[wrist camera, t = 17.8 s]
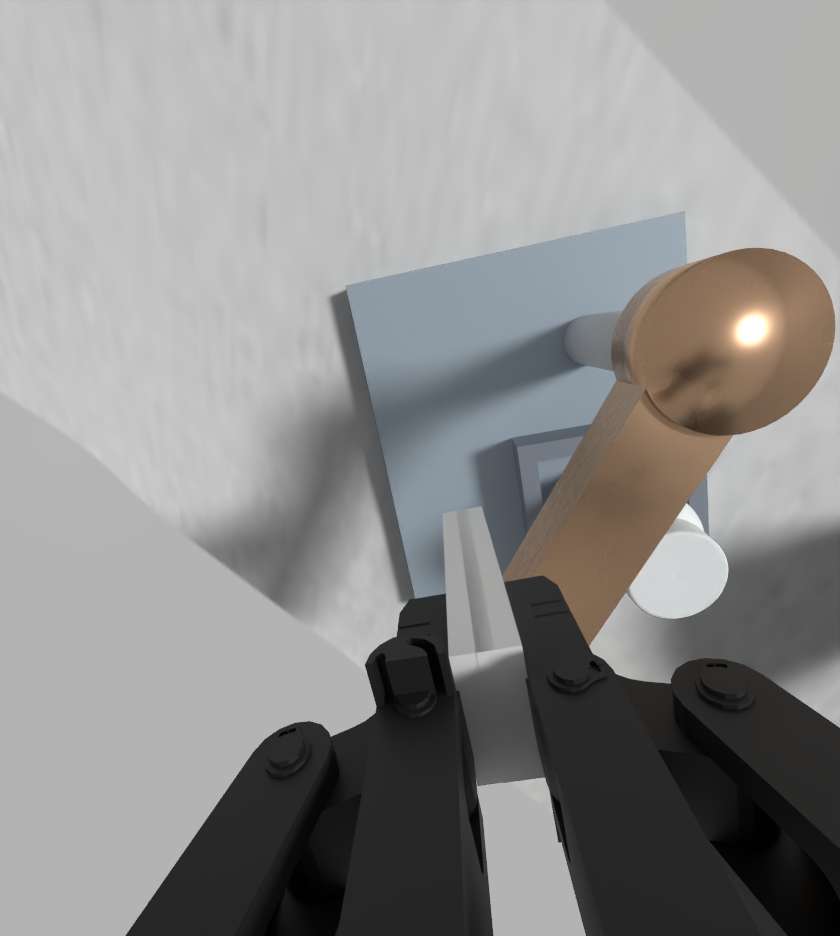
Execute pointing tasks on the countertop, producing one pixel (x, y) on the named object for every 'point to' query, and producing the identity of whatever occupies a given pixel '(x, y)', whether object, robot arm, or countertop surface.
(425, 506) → the board
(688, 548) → the pill bottle
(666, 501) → the lever
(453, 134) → the countertop surface
